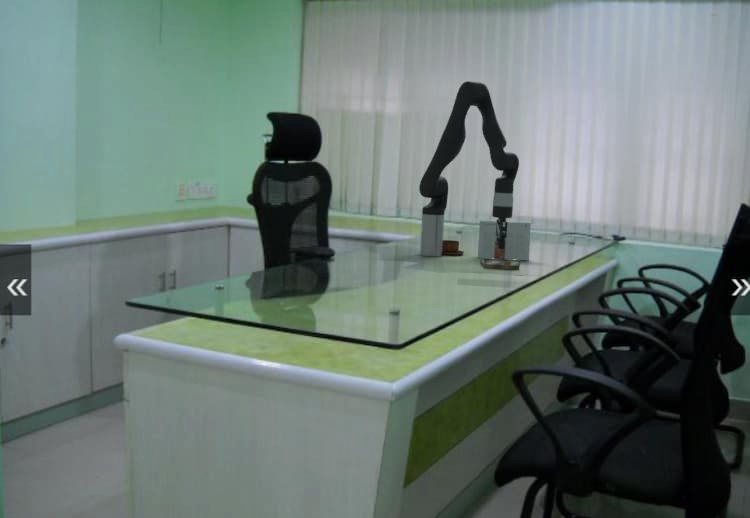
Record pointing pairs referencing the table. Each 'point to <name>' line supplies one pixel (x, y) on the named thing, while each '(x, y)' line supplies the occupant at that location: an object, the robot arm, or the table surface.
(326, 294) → the table surface
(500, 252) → the lighter
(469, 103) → the robot arm
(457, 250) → the cup and saucer
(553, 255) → the table surface
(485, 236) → the skincare box
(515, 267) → the shelf board
